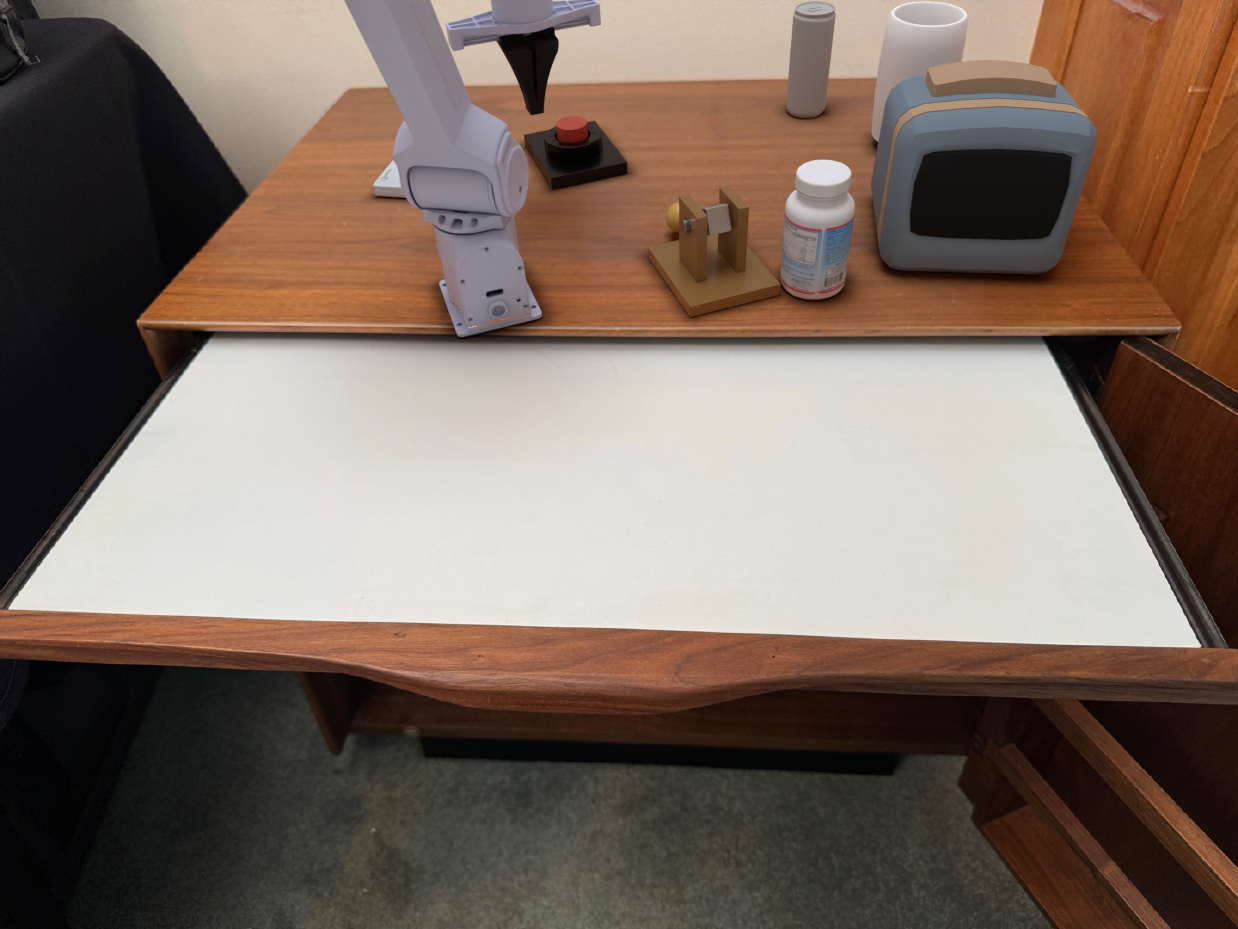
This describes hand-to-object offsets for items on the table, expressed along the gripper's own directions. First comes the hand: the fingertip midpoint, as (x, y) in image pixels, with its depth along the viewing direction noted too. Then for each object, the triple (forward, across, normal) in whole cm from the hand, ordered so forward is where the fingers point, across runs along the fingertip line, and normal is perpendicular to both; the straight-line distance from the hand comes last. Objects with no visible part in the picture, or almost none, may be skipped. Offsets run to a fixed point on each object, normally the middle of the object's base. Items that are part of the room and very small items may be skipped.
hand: (535, 110), depth 89 cm
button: (+8, -6, -9) cm, 13 cm away
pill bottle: (+11, -19, +25) cm, 33 cm away
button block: (+10, -6, -9) cm, 15 cm away
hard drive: (+11, +10, -10) cm, 18 cm away
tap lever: (+8, -11, +17) cm, 21 cm away
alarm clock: (+11, -36, +23) cm, 44 cm away
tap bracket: (+10, -11, +20) cm, 25 cm away
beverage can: (+11, -36, -9) cm, 39 cm away
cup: (+11, -42, +4) cm, 44 cm away
